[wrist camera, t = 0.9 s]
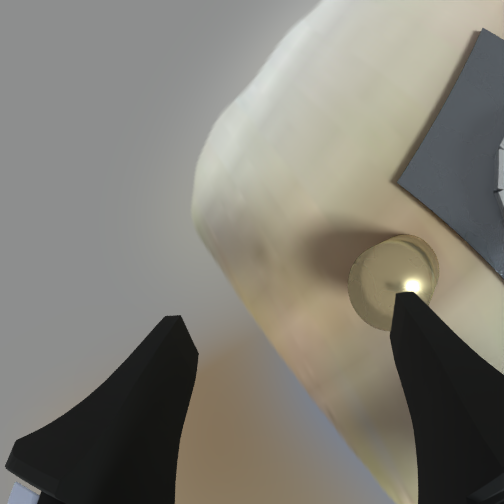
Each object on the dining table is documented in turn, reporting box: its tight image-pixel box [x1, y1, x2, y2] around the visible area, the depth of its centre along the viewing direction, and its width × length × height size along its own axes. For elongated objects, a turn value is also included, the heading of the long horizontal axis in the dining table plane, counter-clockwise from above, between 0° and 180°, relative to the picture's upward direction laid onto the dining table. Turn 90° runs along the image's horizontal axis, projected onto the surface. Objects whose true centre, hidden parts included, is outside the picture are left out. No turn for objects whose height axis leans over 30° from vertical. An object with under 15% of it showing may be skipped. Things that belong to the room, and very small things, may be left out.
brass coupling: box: [348, 235, 439, 331], centre depth 18 cm, size 5×5×5 cm
